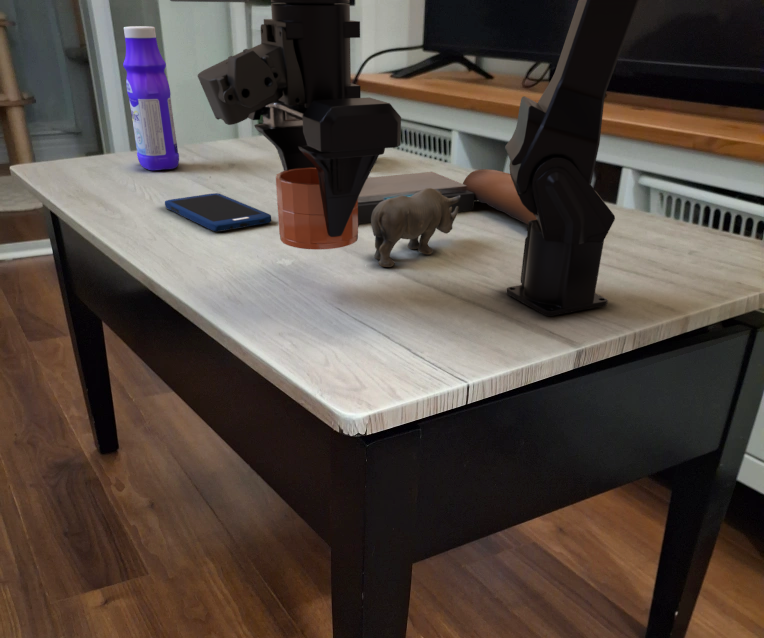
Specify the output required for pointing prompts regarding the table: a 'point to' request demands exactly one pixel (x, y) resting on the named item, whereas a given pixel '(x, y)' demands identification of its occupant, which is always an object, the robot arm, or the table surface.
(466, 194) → the scale
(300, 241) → the cup
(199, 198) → the cell phone
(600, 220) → the robot arm
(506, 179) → the sunglasses case
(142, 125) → the bottle
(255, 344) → the table surface
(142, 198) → the table surface
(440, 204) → the rhino figurine
